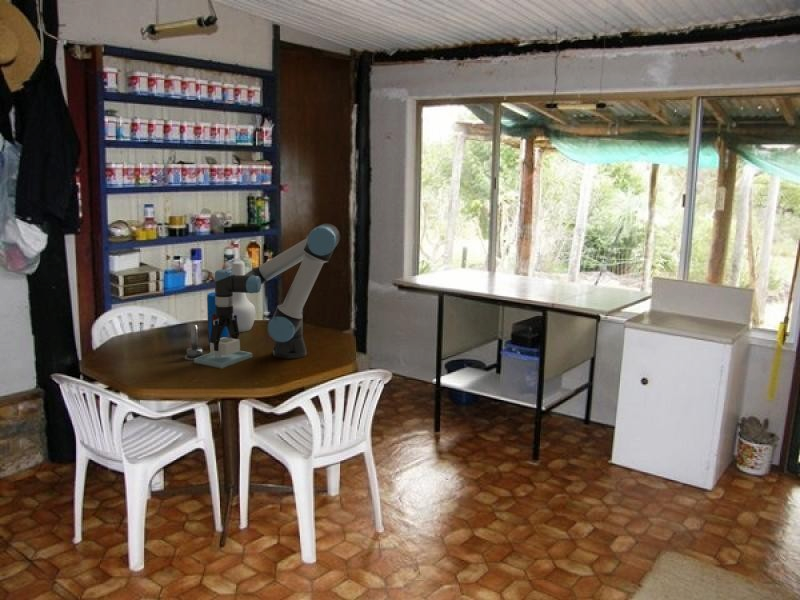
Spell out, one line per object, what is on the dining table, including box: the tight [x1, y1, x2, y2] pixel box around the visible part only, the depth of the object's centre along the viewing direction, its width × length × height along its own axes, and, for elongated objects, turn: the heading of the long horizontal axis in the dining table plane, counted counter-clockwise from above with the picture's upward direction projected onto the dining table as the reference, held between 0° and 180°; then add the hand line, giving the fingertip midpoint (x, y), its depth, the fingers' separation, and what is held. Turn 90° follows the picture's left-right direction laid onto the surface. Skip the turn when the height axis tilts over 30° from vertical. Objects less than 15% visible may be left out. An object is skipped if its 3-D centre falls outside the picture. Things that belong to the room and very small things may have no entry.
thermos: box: [206, 291, 231, 348], centre depth 334 cm, size 11×11×25 cm
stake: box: [184, 323, 205, 362], centre depth 315 cm, size 9×9×15 cm
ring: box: [209, 337, 241, 356], centre depth 313 cm, size 11×9×5 cm
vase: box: [231, 261, 256, 333], centre depth 364 cm, size 17×17×35 cm
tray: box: [193, 350, 253, 369], centre depth 314 cm, size 15×20×2 cm
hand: (225, 355), depth 314 cm, fingers closed on ring, 9 cm apart
